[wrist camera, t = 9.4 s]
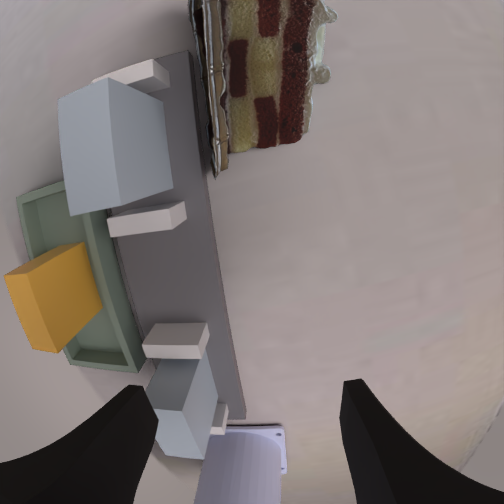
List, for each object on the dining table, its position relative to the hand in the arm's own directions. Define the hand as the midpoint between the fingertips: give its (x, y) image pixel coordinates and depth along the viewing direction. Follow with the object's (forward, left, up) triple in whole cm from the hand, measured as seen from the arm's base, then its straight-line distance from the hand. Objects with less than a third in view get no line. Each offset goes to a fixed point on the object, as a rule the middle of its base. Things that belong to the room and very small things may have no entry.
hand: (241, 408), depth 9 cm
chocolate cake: (+13, -2, -10) cm, 17 cm away
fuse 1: (+10, +5, -8) cm, 14 cm away
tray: (+2, +13, -9) cm, 16 cm away
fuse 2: (-6, +5, -8) cm, 11 cm away
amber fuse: (+2, +13, -9) cm, 16 cm away
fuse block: (+2, +5, -9) cm, 11 cm away
